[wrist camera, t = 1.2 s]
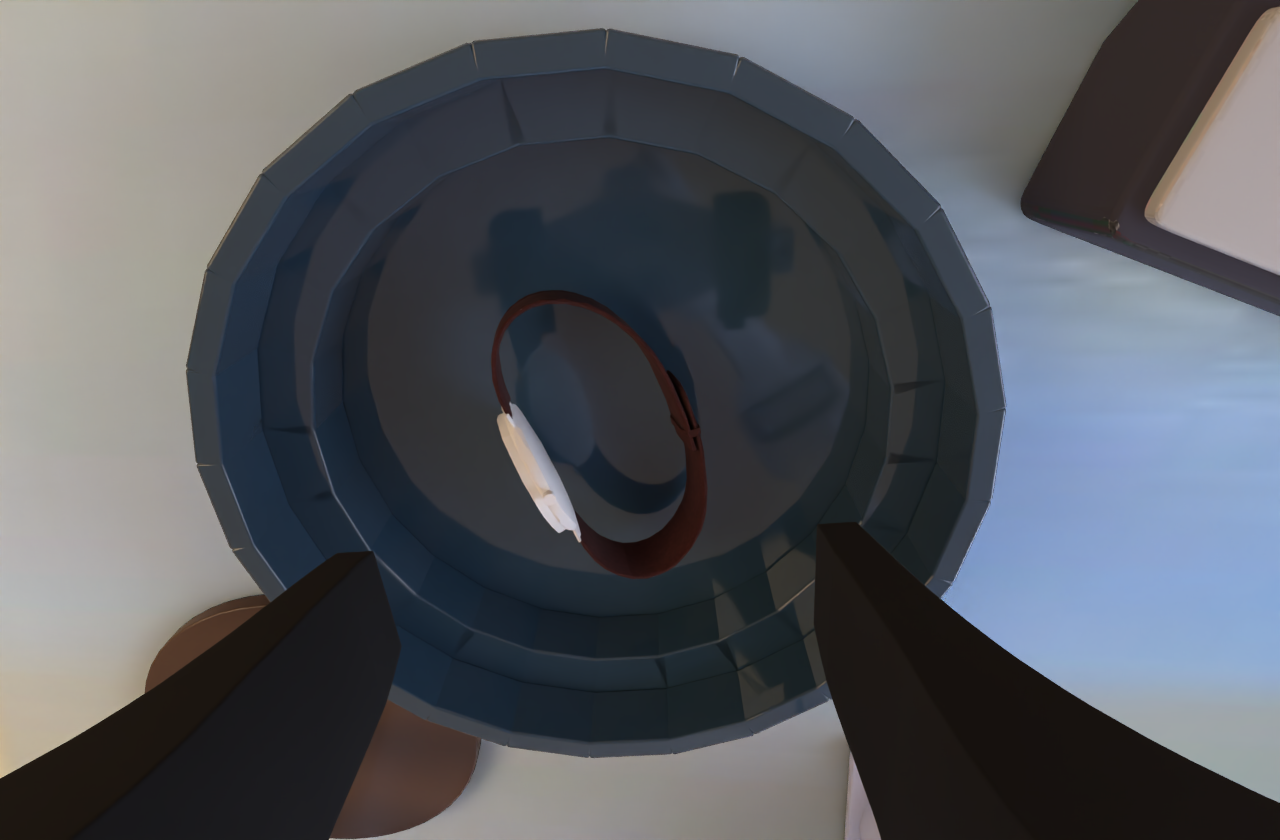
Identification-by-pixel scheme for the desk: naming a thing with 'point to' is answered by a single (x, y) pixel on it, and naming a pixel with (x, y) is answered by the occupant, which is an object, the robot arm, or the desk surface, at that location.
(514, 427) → the watch
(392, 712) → the coaster
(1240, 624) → the desk surface
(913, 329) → the bowl
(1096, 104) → the calculator
